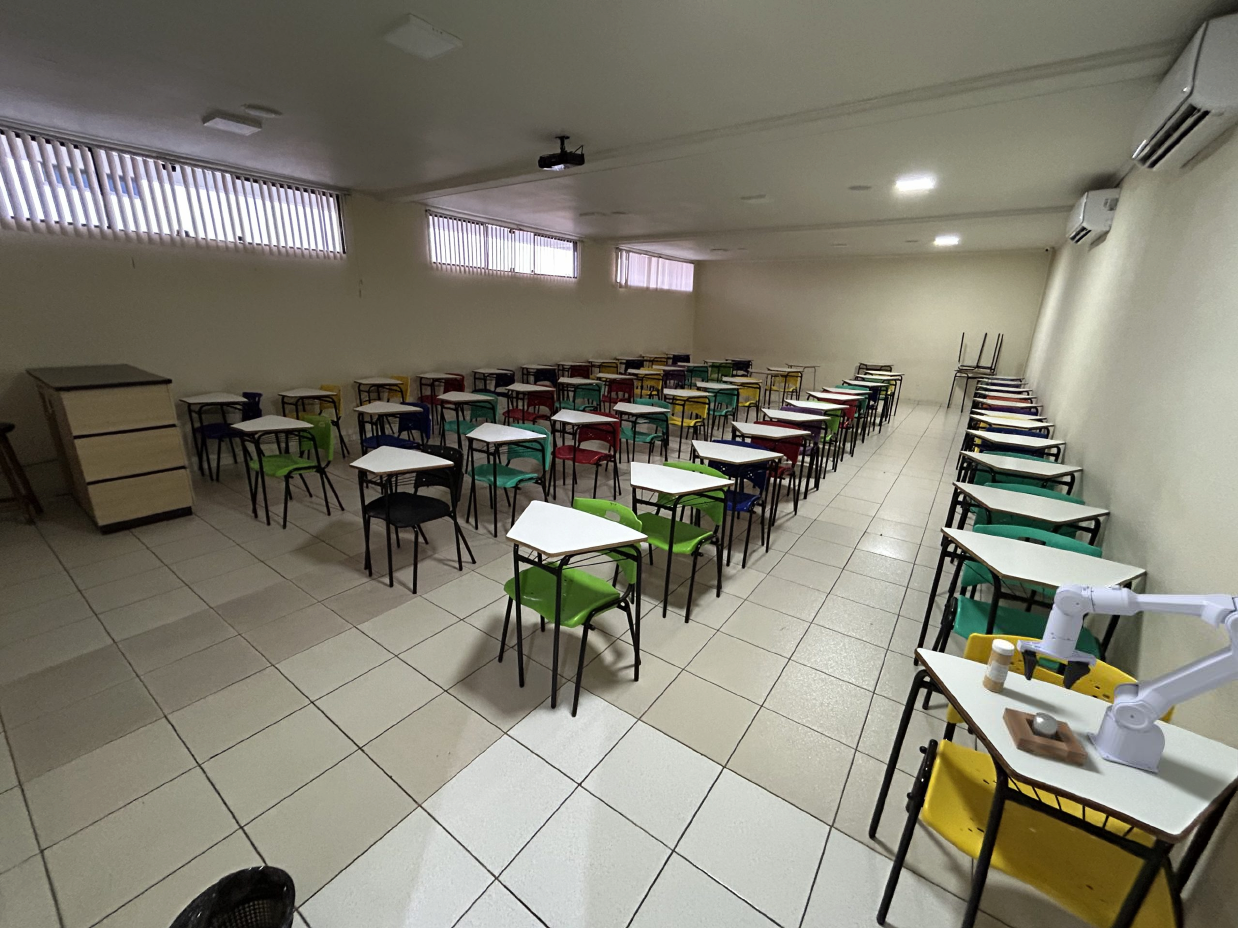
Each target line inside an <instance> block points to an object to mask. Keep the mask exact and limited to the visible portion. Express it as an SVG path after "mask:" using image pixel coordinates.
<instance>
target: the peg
mask: <svg viewBox="0 0 1238 928" xmlns="http://www.w3.org/2000/svg"><path fill="white" fill-rule="evenodd" d="M1034 715H1035V719H1034V722H1033V725H1032V728H1031V731H1032V733H1033V735H1035V736H1039V737H1043V738H1047V739H1051V740H1053V739H1054V736H1055V732H1056V729H1057V726H1058V721H1059V720H1058V719H1056V718H1055V717H1054V716H1052V715H1050V714H1049V713H1045V712H1041V711H1038V712H1036V713H1035V714H1034ZM1057 720H1058V721H1057Z"/></svg>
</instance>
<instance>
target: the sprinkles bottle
mask: <svg viewBox="0 0 1238 928" xmlns="http://www.w3.org/2000/svg"><path fill="white" fill-rule="evenodd" d="M1015 649H1016V647H1015V645H1014V644H1012V642H1009V641H1008V640H1004V639H1000V638H997V639H996V638H995V639H993V641H992V644H991V652H990V655H989V659H988V663H987V665H986V669H985V673H984V674H985V675H984V678H983V680H982V685H983V686H984V687H985V688H986V690H987V689H988V690H989V691H991V692H994V693H1002V692H1003V691H1004V686H1005V682H1006V681H1007V676H1008V674H1009V668H1010V665H1011V661H1012V658H1013V655H1014V654H1015V651H1016V650H1015Z"/></svg>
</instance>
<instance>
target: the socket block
mask: <svg viewBox="0 0 1238 928" xmlns="http://www.w3.org/2000/svg"><path fill="white" fill-rule="evenodd" d="M1003 711H1004V712H1003V715H1002V720H1003V722H1004V723H1005V726H1006V728H1007V730H1008V732H1009V733H1008V734H1010V736H1011V740H1012V741H1013V743H1014V747H1016V749H1017V750H1022V751H1024V752H1025V751H1026V752H1029V753H1032V754H1036V755H1040V756H1044V757H1048V758H1052V759H1055V760H1058V761H1062V762H1066V763H1069V764H1074V765H1078V766H1081V767H1083V766H1084V765H1085V761H1086V759H1087V756H1088V754H1087V753H1086V751H1085V750H1084V748H1083V746H1082V745H1081V743H1080V742H1079V740H1078V738H1077V737H1076V735H1075V734H1074V732H1073V730H1072V729H1071V728H1070V725H1069V724H1068V722H1066V721H1062V720H1058V719H1056V720H1057V721H1058V726H1057V729H1056V732H1055V736H1054V739H1053V740H1051V739H1047V738H1043V737H1039V736H1035V735H1033V733H1032V731H1031V728H1032V725H1033V722H1034V719H1035V715H1036V714H1033V713H1031V712H1030V713H1029V712H1025V711H1021V710H1016V709H1015V708H1014V709H1013V708H1010V707H1009V708H1008V707H1005V708H1004V710H1003Z"/></svg>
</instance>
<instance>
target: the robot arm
mask: <svg viewBox="0 0 1238 928" xmlns="http://www.w3.org/2000/svg"><path fill="white" fill-rule="evenodd" d="M1053 598H1054V599H1053V602H1054V604H1053V605H1052V610H1051V611H1050V613H1049V616H1048V619H1047V623H1046V626H1045V631H1044V633H1043V637H1042V640H1040V641H1036V640H1035V641H1033V640H1022V639H1018V640H1017V643H1016V647H1015V648H1017V650H1018V651H1019V652H1020V653H1021V656H1022V661H1023V668H1024V669H1023V670H1024V674H1023V676H1024V678H1025V680H1026V681H1029V682H1031V681H1032V678H1033V675H1034V671H1035V669H1036V667H1037V665H1038V664H1039V662H1040V660H1039V659H1038V658H1037V657H1038V655H1043V656H1047V657H1051V658H1054V659H1057V660H1060V661H1065V662H1066V661H1067V663H1066V669H1065V670H1066V671H1065V674H1064V676H1063V679H1062V685H1063V686H1064V688H1065V689H1066V690H1068V691H1069V690H1071V688H1072V687H1074V685H1075V684H1076V683H1077V682H1078V681H1079V680H1080V679H1081V678H1083V677H1085V676H1086V675H1089V674H1090V673H1091V667H1093V668H1096V665H1097V663H1098V659H1097V658H1096V657H1095V656H1094V655H1093V654H1091V653H1090V654H1089V653H1087V652H1082V651H1081V650H1078V649H1077V650H1076V645H1077V642H1078V639H1079V636H1080V633H1081V630H1082V628H1083V627H1082V626H1083V624H1084V619H1083V618H1084V615H1085V614H1087V613H1091V614H1103V615H1104V614H1105V615H1116V616H1118V615H1119V616H1131V617H1132V616H1134V615H1135V614H1136V613H1138V612H1140V611H1142V612H1143V611H1144V612H1153V613H1161V614H1175V615H1183V616H1184V615H1185V616H1193V617H1194V616H1195V617H1197V618H1200V619H1201V620H1202V621H1204V622H1206V623H1208V624H1210V625H1211V626H1213V627H1215V628H1217V629H1220V625H1221V624H1223V625H1224V627H1225V630H1226V631H1227V633H1228V636H1229V645H1227V646H1225V647H1222V648H1220V649H1218V650H1216V651H1213V652H1212V653H1209V654H1207V655H1205V656H1203V657H1201V658H1198V659H1196V660H1193V661H1192V662H1190V663H1186V664H1185V665H1183V666H1181V667H1178V668H1176V669H1173V670H1172V671H1169V672H1167V673H1165V674H1162V675H1160V676H1158V677H1155V678H1154V679H1151V680H1150V679H1149V680H1148V679H1140V680H1138V681H1135V682H1122V683H1119V684H1117V685H1116V686H1115V687H1114V690H1113V696H1114V697H1113V698H1114V699H1113V703H1112V704H1110V705H1108V706H1107V707H1106V709H1105V712H1104V714H1103V718H1102V720H1101V723H1100V727H1099V729H1098V732H1097V733H1095V732H1091V731H1090V732H1089V731H1088V732H1087V733H1086V734H1087V737H1088V738H1089V739H1090V741H1091V743H1092V745H1094V747H1095V749H1096V750H1097V752H1098V753H1099V755H1100V757H1102V759H1104V760H1107V761H1110V762H1114V763H1118V764H1122V765H1125V766H1130V767H1134V768H1138V769H1142V770H1146V771H1149V772H1154V773H1158V772H1159V770H1158V769H1157V767H1158V764H1159V762H1160V759H1161V757H1162V754H1163V752H1164V750H1165V748H1166V739H1165V734H1164V732H1163V730H1162V728H1161V727H1160V726H1159V725H1157V724H1155V722H1156V721H1157V720H1160V719H1162V718H1163V717H1165V716H1166V714H1167V713H1168V712H1169V711H1170V709H1172V708H1173V707H1174V706H1177V705H1179V704H1181V703H1184V702H1187V701H1188V700H1191V699H1193V698H1196V697H1198V696H1200V695H1203V694H1205V693H1207V692H1211V691H1212V690H1213V691H1214V690H1215V689H1218V688H1221V687H1223V686H1225V685H1227V684H1230V683H1233V682H1235V681H1238V595H1232V594H1227V593H1213V594H1212V593H1211V594H1210V593H1209V594H1157V593H1156V594H1155V593H1154V594H1153V593H1151V594H1150V593H1149V594H1147V593H1141V594H1140V593H1139V594H1138V593H1136V592H1134V591H1132V590H1131V589H1130V588H1127V587H1121V586H1120V585H1119V584H1111V587H1105V586H1104V587H1103V586H1089V585H1088V584H1082V585H1078V584H1077V583H1072V582H1071V583H1064V584H1063V585H1062V584H1061V585H1060V586H1059V587H1058V588H1057V589H1056V592H1055V595H1054V597H1053Z"/></svg>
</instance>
